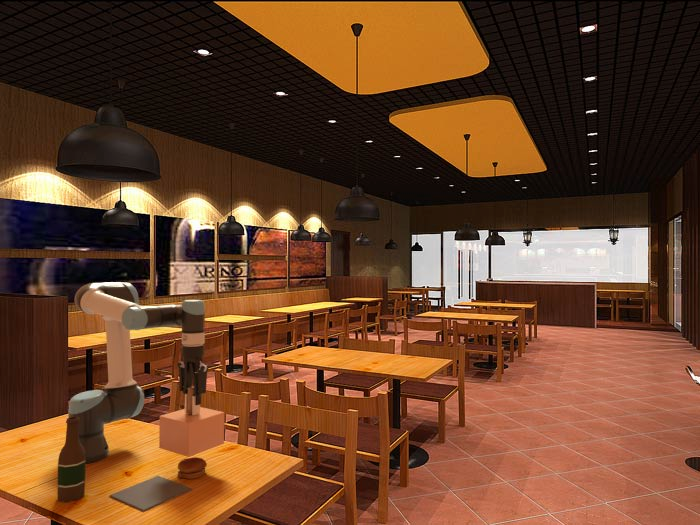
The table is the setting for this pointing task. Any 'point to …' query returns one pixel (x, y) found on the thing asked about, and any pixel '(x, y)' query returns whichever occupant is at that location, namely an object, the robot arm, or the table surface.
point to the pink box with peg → (191, 430)
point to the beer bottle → (71, 465)
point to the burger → (191, 468)
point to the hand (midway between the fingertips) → (192, 413)
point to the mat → (150, 493)
